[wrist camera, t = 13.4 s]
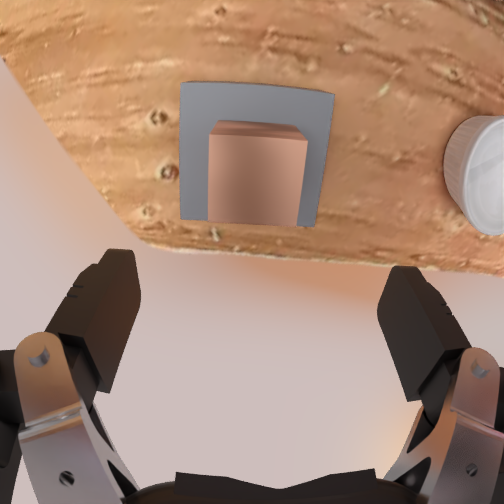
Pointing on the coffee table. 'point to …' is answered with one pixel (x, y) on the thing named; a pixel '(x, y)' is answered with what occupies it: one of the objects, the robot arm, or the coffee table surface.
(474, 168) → the ramekin
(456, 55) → the coffee table surface
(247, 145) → the terracotta cube
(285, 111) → the slate base
